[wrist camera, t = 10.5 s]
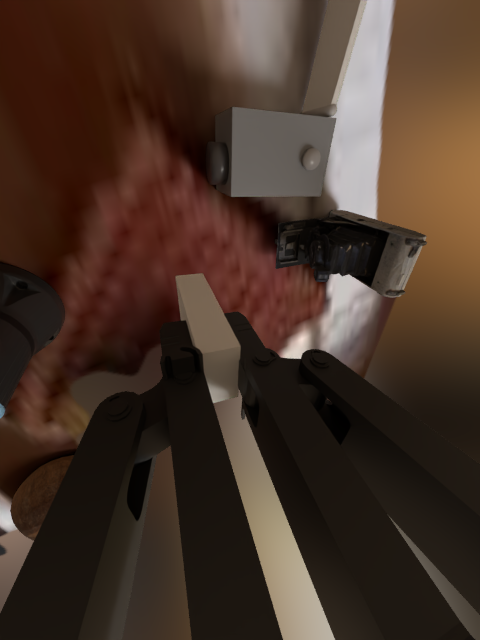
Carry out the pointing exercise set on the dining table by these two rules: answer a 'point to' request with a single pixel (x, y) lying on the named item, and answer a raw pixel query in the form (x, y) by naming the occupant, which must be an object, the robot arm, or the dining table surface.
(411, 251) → the vintage camera
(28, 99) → the dining table surface
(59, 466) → the bread
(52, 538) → the robot arm
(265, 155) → the cabinet with round knob
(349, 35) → the side door
